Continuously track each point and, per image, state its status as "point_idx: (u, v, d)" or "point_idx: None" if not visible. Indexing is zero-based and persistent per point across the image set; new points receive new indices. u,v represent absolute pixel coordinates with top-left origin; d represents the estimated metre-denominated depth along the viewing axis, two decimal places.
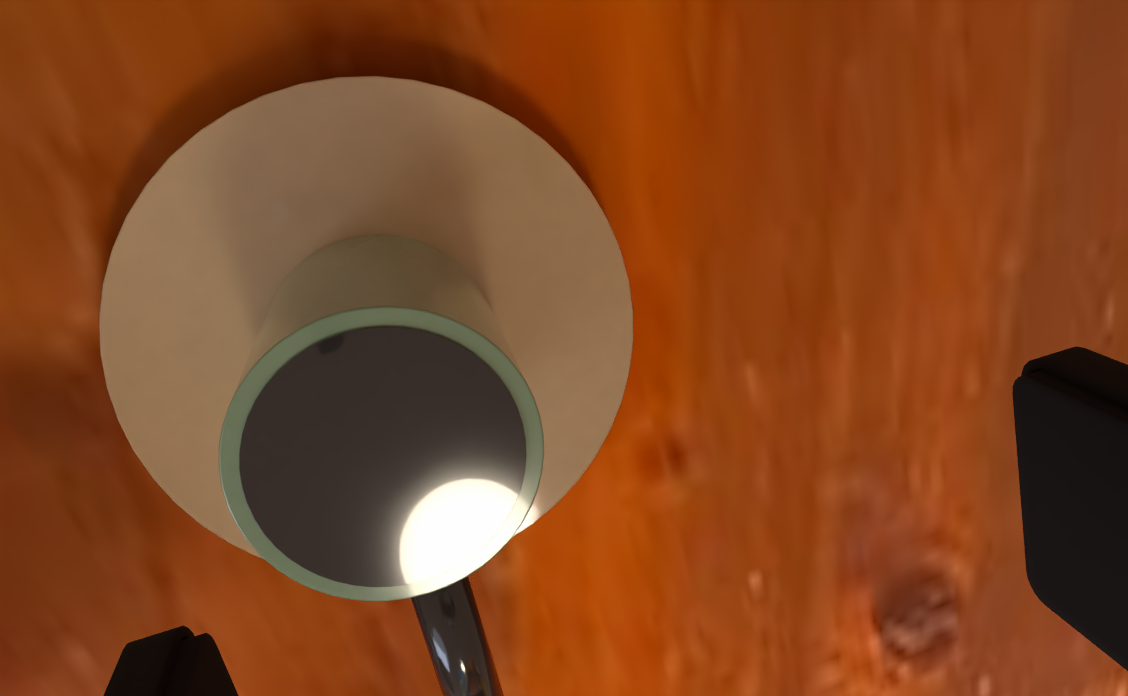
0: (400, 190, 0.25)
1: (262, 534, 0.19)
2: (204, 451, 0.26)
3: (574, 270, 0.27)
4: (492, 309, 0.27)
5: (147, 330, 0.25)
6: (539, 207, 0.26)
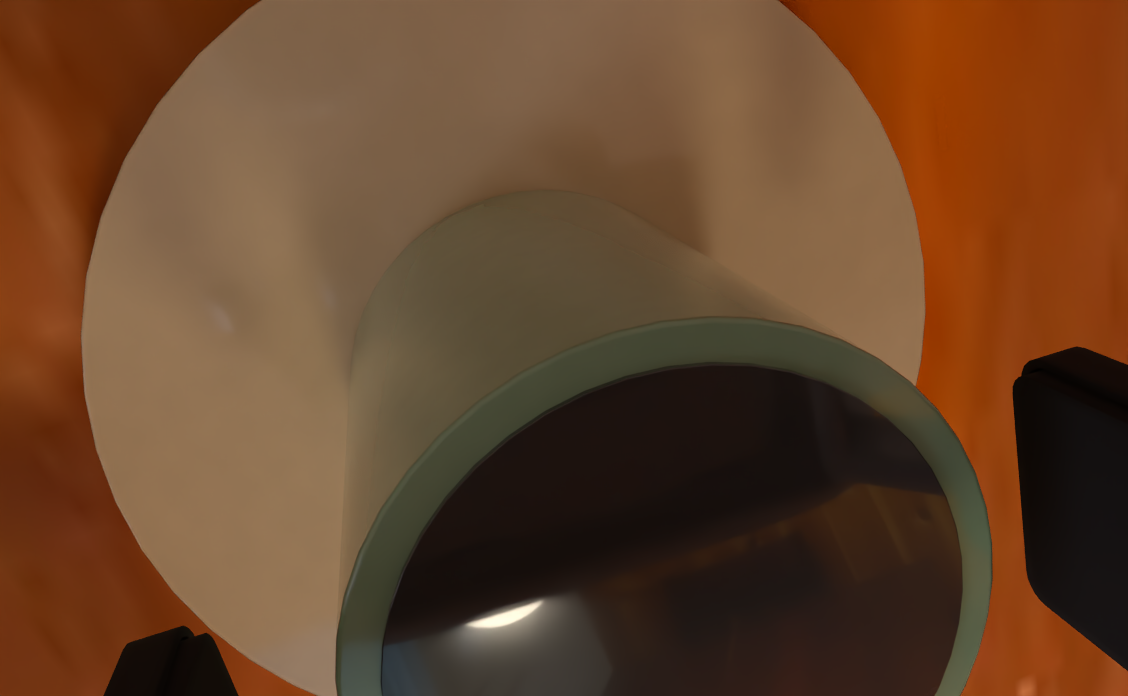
0: (581, 115, 0.15)
1: None
2: (255, 547, 0.16)
3: (844, 248, 0.17)
4: None
5: (162, 354, 0.15)
6: (798, 145, 0.16)
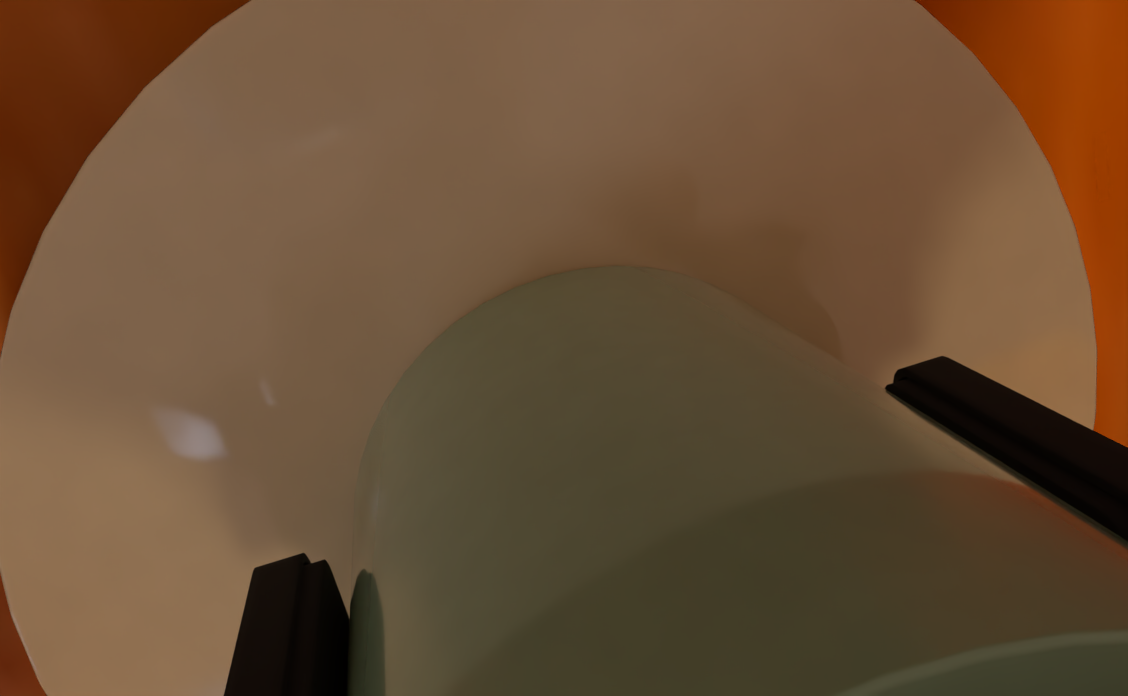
0: (665, 166, 0.11)
1: None
2: None
3: (998, 333, 0.13)
4: None
5: (99, 490, 0.11)
6: (947, 202, 0.12)
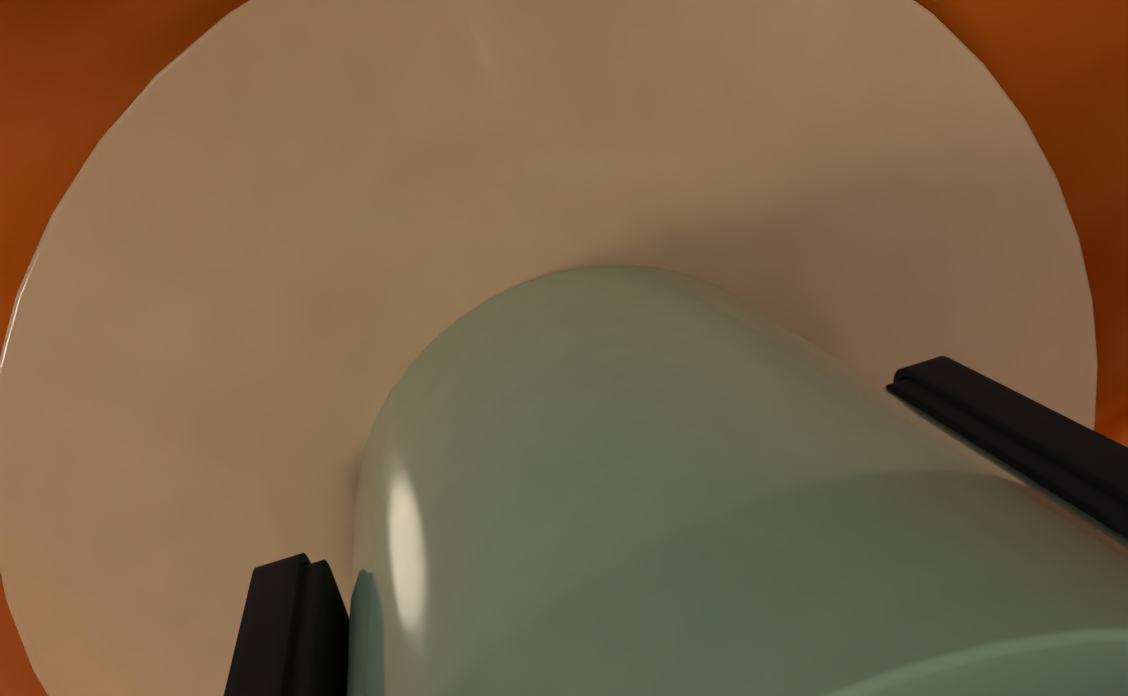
0: (675, 167, 0.11)
1: None
2: None
3: (1001, 342, 0.13)
4: None
5: (100, 477, 0.11)
6: (953, 210, 0.12)
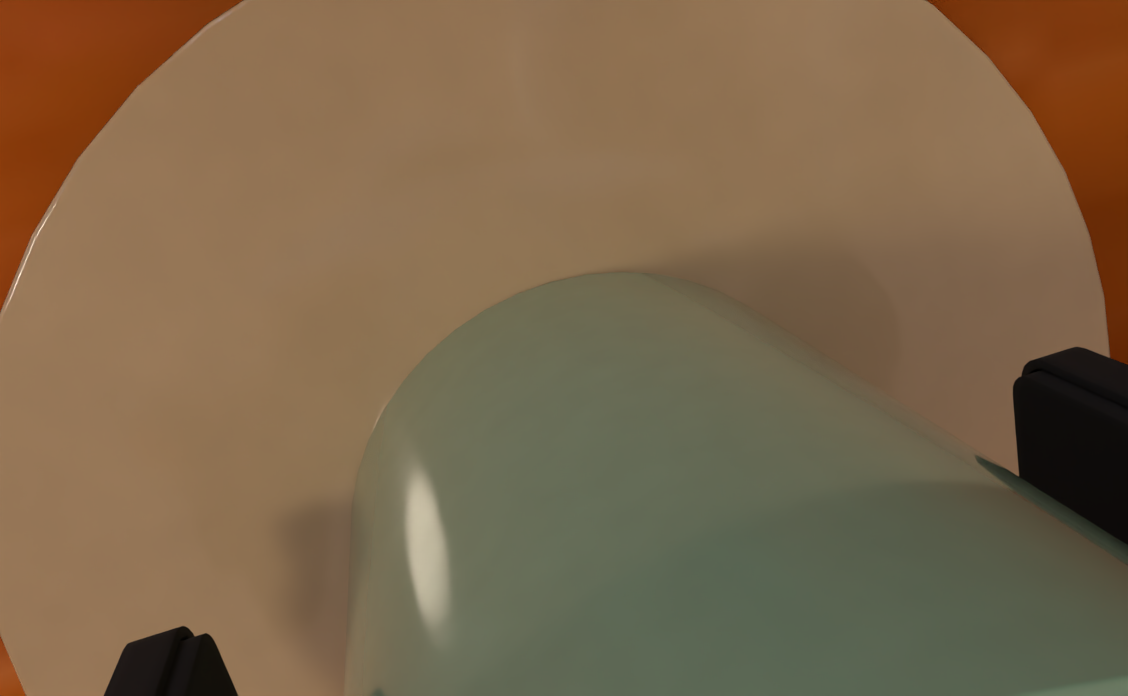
0: (672, 170, 0.11)
1: None
2: None
3: (1010, 342, 0.13)
4: None
5: (89, 501, 0.11)
6: (959, 208, 0.12)
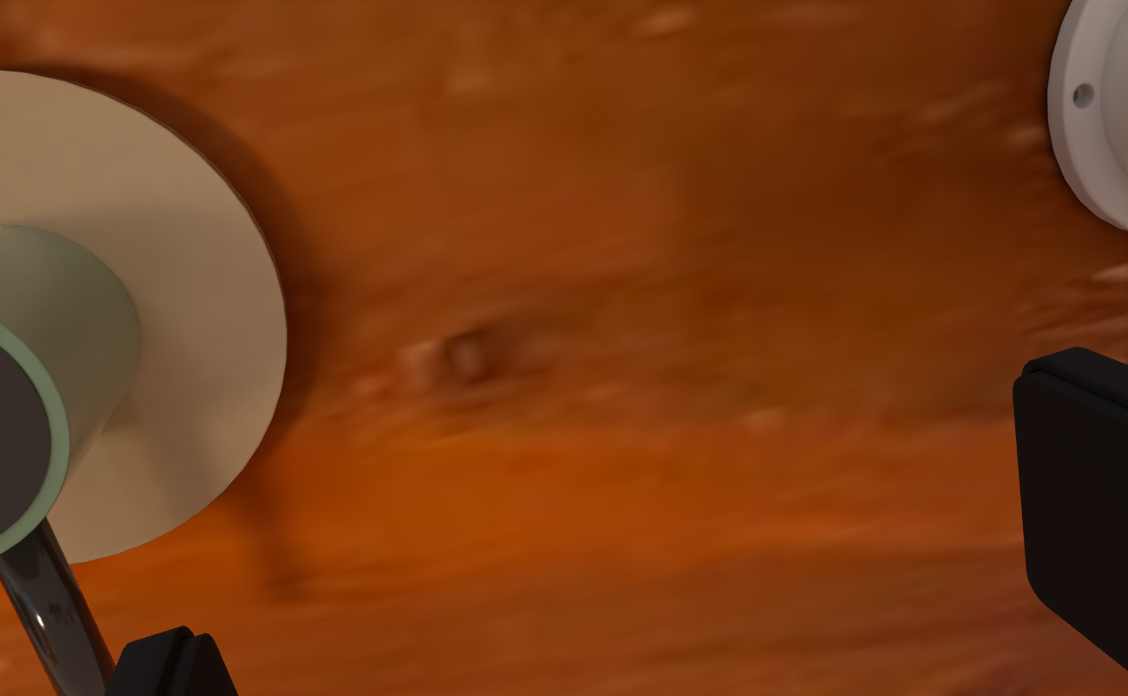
0: (22, 181, 0.26)
1: None
2: None
3: (216, 259, 0.28)
4: (133, 298, 0.27)
5: None
6: (172, 197, 0.27)
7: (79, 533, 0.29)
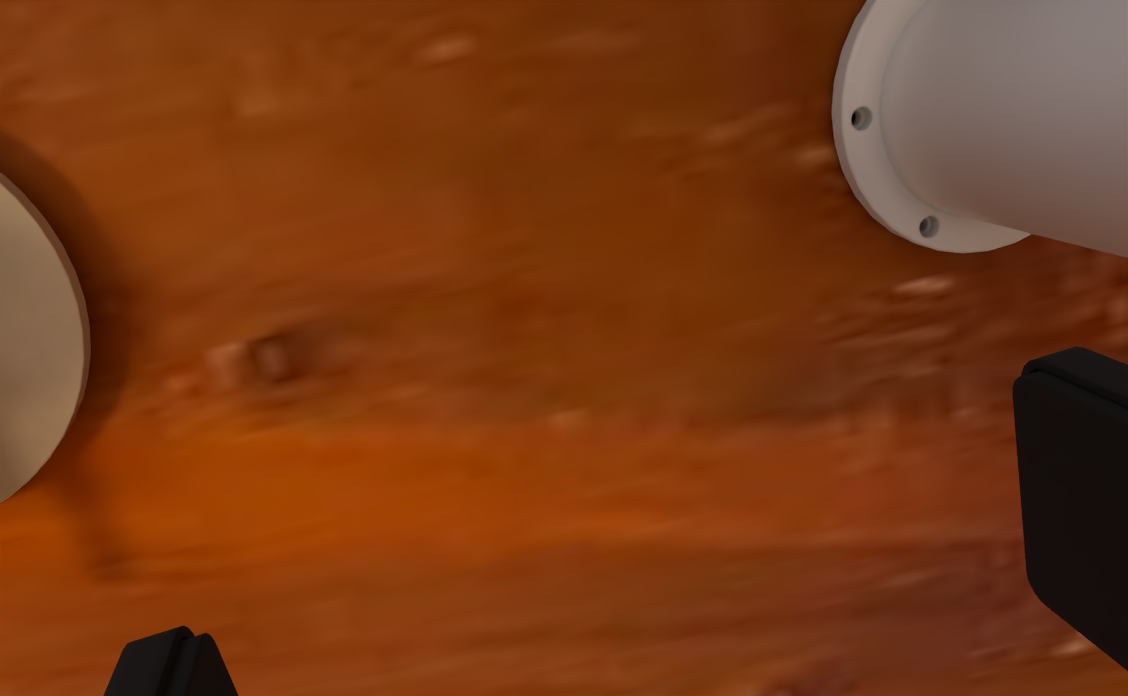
0: None
1: None
2: None
3: (11, 268, 0.30)
4: None
5: None
6: None
7: None
